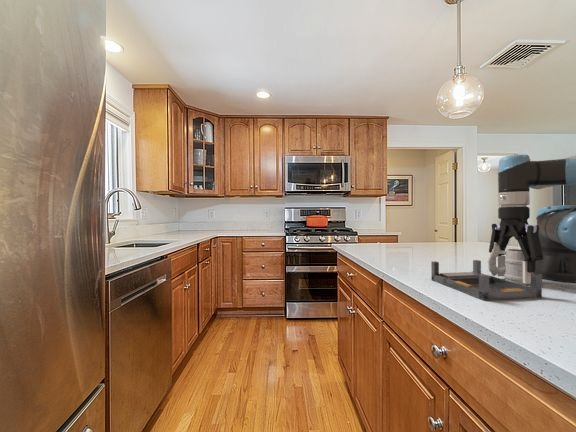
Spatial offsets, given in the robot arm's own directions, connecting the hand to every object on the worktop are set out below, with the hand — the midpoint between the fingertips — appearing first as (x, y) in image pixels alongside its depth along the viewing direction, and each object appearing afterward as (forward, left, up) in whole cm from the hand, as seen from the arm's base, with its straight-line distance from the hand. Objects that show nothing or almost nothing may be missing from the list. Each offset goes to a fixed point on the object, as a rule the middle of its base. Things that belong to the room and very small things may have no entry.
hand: (513, 279), depth 86 cm
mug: (0, -1, -1) cm, 1 cm away
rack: (+15, +4, -1) cm, 16 cm away
